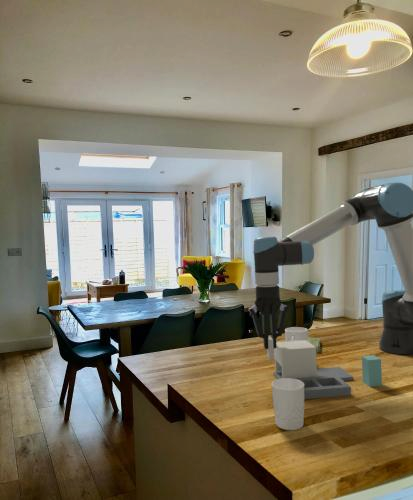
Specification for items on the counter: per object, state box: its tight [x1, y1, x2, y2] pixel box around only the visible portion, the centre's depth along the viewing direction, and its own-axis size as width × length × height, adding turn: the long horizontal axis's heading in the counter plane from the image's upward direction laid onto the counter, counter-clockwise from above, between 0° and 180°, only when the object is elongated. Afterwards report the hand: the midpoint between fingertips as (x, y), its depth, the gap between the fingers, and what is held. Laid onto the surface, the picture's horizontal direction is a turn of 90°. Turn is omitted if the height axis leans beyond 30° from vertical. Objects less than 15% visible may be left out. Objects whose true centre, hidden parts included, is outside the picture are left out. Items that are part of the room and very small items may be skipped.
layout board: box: [273, 366, 355, 382], centre depth 127 cm, size 23×10×5 cm, turn 95°
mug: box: [284, 326, 309, 342], centre depth 142 cm, size 12×8×12 cm
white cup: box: [271, 378, 305, 431], centre depth 96 cm, size 8×8×10 cm
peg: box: [361, 355, 383, 388], centre depth 119 cm, size 4×4×8 cm
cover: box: [274, 340, 318, 378], centre depth 126 cm, size 11×9×10 cm
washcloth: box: [308, 336, 322, 354], centre depth 162 cm, size 13×18×3 cm
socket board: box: [292, 375, 352, 400], centre depth 116 cm, size 16×10×2 cm, turn 95°
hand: (270, 358), depth 125 cm, fingers closed
